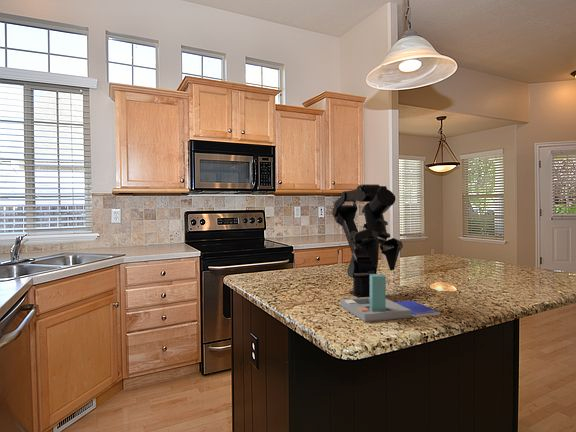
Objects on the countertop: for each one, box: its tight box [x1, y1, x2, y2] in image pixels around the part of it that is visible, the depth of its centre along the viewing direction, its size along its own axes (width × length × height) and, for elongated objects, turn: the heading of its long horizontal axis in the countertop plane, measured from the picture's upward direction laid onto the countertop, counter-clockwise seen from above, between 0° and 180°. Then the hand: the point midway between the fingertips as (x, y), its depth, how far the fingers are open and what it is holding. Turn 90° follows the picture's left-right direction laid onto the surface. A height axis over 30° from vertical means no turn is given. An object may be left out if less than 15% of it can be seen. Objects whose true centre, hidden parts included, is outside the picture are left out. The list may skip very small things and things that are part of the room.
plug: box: [369, 273, 387, 312], centre depth 101 cm, size 4×4×11 cm
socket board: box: [339, 296, 412, 323], centre depth 105 cm, size 16×14×2 cm
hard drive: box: [394, 300, 441, 318], centre depth 107 cm, size 2×8×12 cm
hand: (384, 268), depth 108 cm, fingers open, 9 cm apart
